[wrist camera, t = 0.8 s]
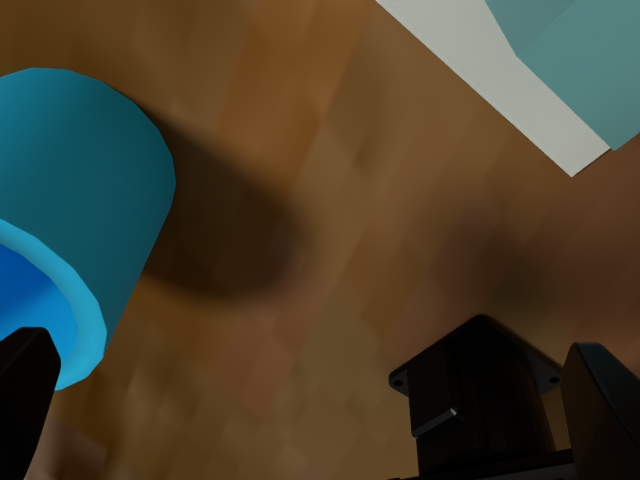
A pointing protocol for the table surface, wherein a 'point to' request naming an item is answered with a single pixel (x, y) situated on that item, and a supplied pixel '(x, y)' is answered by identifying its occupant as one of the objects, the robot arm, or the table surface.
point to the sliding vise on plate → (499, 75)
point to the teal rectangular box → (582, 57)
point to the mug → (75, 209)
